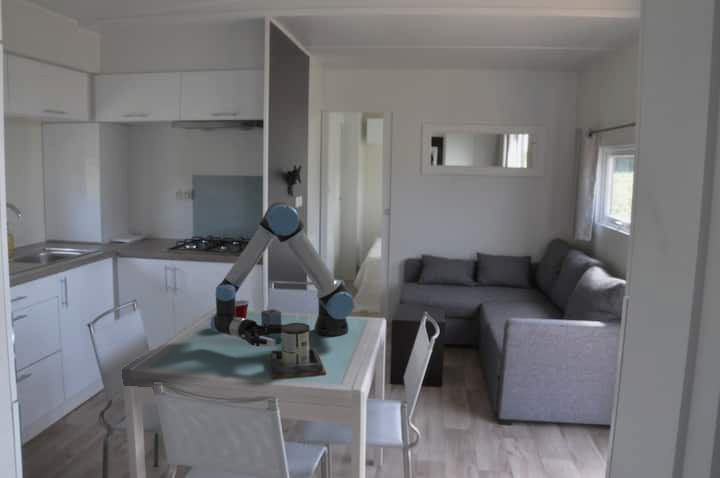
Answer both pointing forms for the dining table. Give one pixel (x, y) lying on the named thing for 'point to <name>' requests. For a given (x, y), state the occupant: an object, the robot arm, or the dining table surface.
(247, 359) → the dining table surface
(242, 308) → the plastic cup
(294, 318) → the dining table surface
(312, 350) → the tray
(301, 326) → the coffee can
